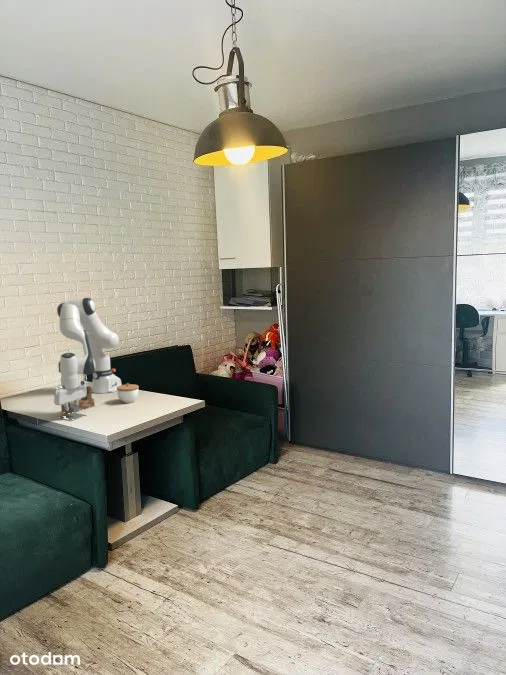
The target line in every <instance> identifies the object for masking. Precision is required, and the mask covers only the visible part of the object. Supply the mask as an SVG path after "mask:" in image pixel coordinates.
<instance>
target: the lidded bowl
mask: <svg viewBox="0 0 506 675" xmlns="http://www.w3.org/2000/svg"><path fill="white" fill-rule="evenodd" d="M139 388H140V386H139V385H138V384H134V383H133V384H131V383H129V382H127V383H126V384H122V385H121V386H118V387H117V391H116V392H117V397H118V400H119V401H121V403H123V404H132V403H134V402H135V401H136V400H137V398H138V396H139V391H140V390H139Z"/></svg>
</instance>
